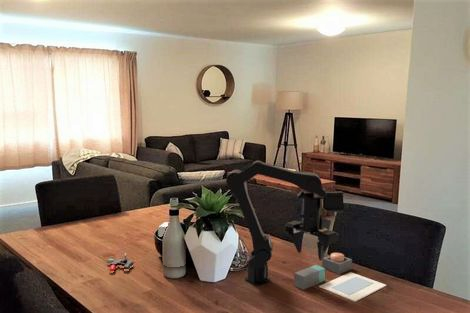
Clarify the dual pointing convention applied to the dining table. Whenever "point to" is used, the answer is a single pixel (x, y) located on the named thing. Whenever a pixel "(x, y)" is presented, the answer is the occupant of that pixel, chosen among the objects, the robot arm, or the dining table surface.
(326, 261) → the button housing
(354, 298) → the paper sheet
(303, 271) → the grey and teal block
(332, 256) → the button
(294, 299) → the dining table surface
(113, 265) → the grey and red toy
